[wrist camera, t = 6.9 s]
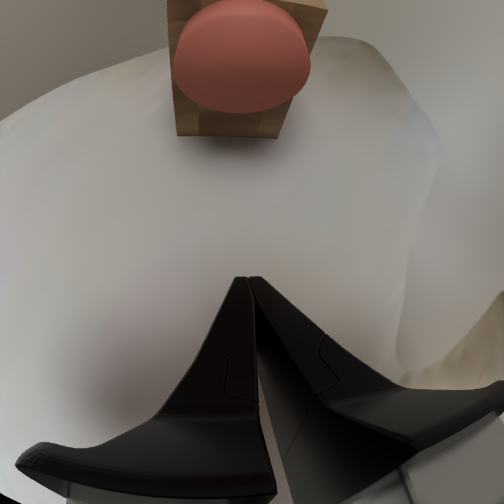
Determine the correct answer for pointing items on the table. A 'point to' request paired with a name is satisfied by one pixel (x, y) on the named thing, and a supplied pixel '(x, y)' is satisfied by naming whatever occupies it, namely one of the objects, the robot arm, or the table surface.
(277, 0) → the sleeve
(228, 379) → the robot arm
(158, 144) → the table surface
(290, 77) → the plunger
